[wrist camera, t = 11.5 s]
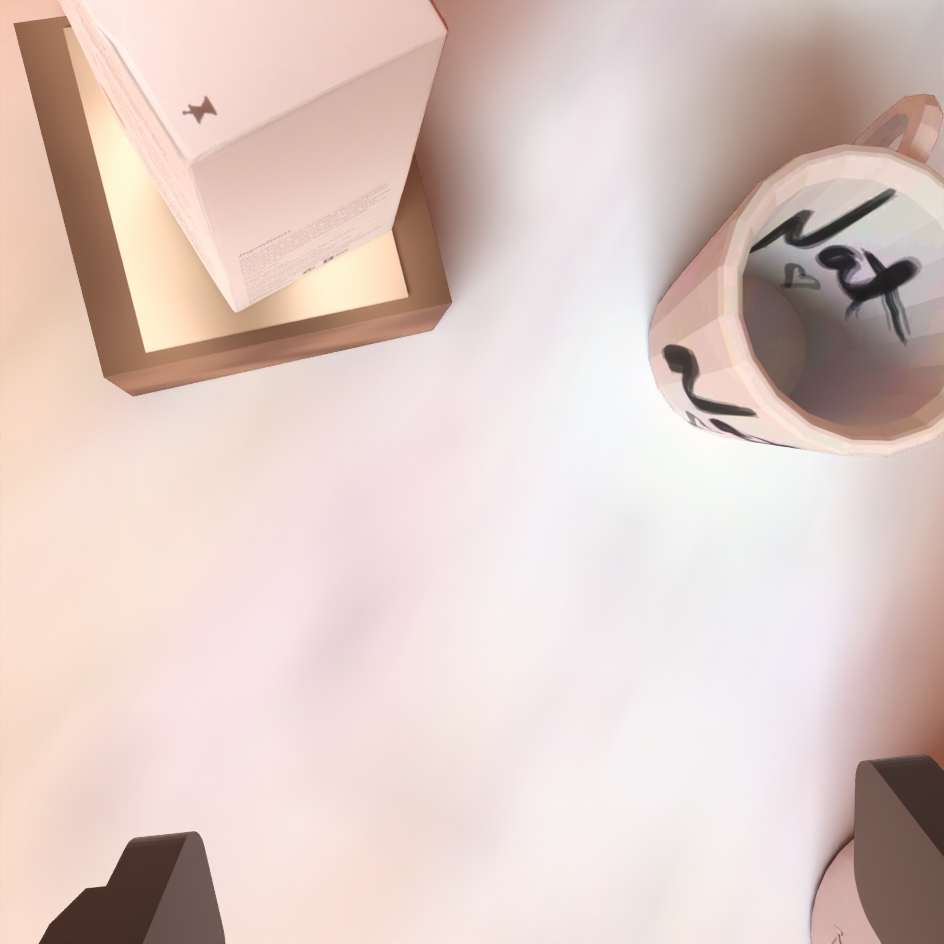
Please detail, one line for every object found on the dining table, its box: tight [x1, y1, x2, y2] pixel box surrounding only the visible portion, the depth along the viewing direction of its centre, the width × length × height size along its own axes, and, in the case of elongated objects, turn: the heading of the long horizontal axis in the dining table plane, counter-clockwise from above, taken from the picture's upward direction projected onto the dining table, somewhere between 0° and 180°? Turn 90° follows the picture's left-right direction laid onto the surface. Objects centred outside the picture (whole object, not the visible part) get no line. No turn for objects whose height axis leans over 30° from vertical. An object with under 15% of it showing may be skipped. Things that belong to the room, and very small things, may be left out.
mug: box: [649, 94, 944, 456], centre depth 34 cm, size 10×15×10 cm
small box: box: [59, 0, 448, 312], centre depth 24 cm, size 8×6×13 cm
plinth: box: [14, 16, 452, 396], centre depth 33 cm, size 12×12×5 cm
